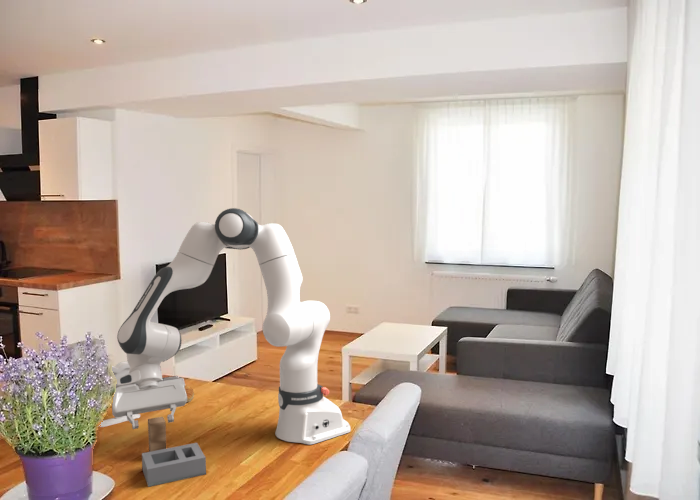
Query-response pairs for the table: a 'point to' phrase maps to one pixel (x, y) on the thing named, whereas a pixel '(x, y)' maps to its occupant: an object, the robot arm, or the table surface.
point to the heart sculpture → (118, 371)
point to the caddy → (173, 464)
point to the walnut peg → (157, 434)
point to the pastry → (189, 393)
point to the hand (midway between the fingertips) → (153, 424)
